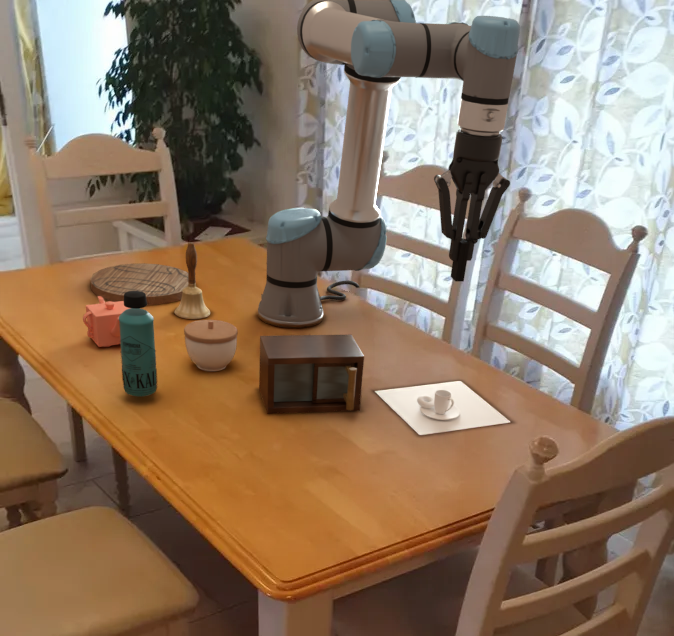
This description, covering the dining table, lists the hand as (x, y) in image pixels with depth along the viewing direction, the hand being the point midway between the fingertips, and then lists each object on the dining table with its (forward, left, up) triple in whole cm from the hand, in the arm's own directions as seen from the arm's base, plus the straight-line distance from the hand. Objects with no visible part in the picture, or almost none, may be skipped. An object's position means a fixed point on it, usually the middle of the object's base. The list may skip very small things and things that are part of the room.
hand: (457, 278), depth 160 cm
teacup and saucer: (-4, -2, -27) cm, 27 cm away
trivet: (+8, -91, -27) cm, 96 cm away
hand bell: (+8, -70, -27) cm, 76 cm away
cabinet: (+16, -19, -26) cm, 36 cm away
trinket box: (+22, -43, -27) cm, 55 cm away
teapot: (+32, -65, -27) cm, 78 cm away
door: (+17, -12, -25) cm, 32 cm away
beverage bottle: (+42, -38, -27) cm, 63 cm away
